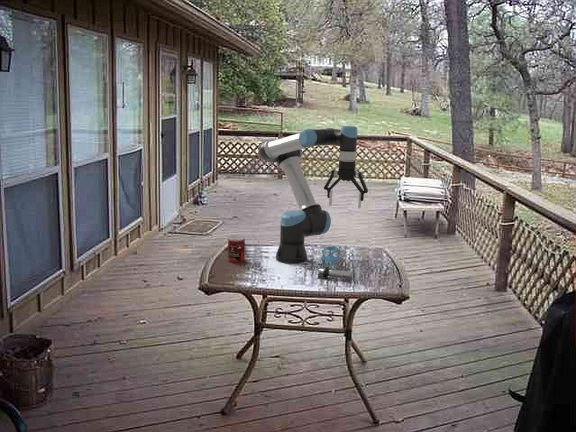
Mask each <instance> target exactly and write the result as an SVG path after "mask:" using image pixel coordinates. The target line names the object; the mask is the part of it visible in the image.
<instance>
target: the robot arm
mask: <svg viewBox="0 0 576 432" xmlns="http://www.w3.org/2000/svg"><path fill="white" fill-rule="evenodd" d="M357 142H358V128H357V126H355V125H342V126H340V129H337V128H333V127H332V128H330V127H329V128H319V129H318V128H317V129H315V128H313V129H312V128H308V129H302V130H301V131H300V132H297V133H295V134H292V135H288V136H284V137H280V138H275V139H274V138H269V139H265V140H263V141H261V142H260V144H259V146H258V155H259V157H260V158H261V159H262V160H263V161H264V162H266V163H267V162H268V163H277V164H278V167H279V168H280V169H281V170H283V171H284V174H285V176H286V179H287V181H288V184H289V186H290V188H291V191H292V193H293V196H294V198H295V201H296V203H297V206H298V209H295V210H288V211H285V212H283V213H282V214H281V216H280V222H279V223H280V235H279V246H278V247H277V251H276V254H275V259H276V261H278V262H280V263H283V264H284V263H285V264H303V263H305V262H307V261H308V253H307V251H306V246H305V238H306V237H313V236H314V237H315V236H321V235H323V234H326V233H328V232H329V230H330V228H331V225H332V218H331V216H330V213H329V212H328V211H327V210H324V209H323V208H322V206H321V205H320V204H319V203H316V200H315V198H314V195H313V193H312V190H311V188H310V185H309V184H308V181H307V179H306V176H305V174H304V171H303V168H302V167H301V163H300V162H301V157H302V155H303V154H302V150H303V149H306V148H307V149H308V148H312V147H321V146H337V147H339V155H338V158H339V161H338V170H335V169H332V170H331V172H330V176H329V178H328V179H327V181H326V183H325V185H324V186H323V190H326V191H327V195H326V196H327V199H328V206H330V207H331V206H332V205H333V190H332V189H333V188H334V187H335V186H336V185H337V184H338V183H339V182H340V181H343V182H345V181H346V182H352V184H353V185H354V186H355V188H356V189H357V191H358V192H359V194H358V203H357V204H358V206H357V207H358V209H361V207H362V202H363V201H364V199H365V198H364V197H365V194H367V193H369V189H368V187H367V185H366V181H365V179H364V177H363V173H362V172H363V171H356V164H357V163H356V160H357V145H358V143H357ZM336 175H338V177H337V178H336V180H335V181H334V182H333V183H332V181H333V179H334V177H335V176H336ZM356 176H357V178H358V180H359V182H360V184H361V185H360V184H359V183H358V181H357V180H356V178H355V177H356ZM331 183H332V184H331ZM330 184H331V185H330ZM361 186H362V187H361Z"/></svg>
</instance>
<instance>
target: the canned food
mask: <svg viewBox="0 0 576 432" xmlns="http://www.w3.org/2000/svg"><path fill="white" fill-rule="evenodd" d="M227 239H228V240H227V259H228V260H227V261H228V262H230V263H242V262H244V261H245V251H246V250H245V248H246V247H245V245H246V243H245V241H246V238H245V237H244V236H239V235H238V236H237V235H235V236H234V235H233V236H230V237H228V238H227Z"/></svg>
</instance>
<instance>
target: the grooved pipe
mask: <svg viewBox="0 0 576 432" xmlns="http://www.w3.org/2000/svg"><path fill="white" fill-rule="evenodd" d="M329 267H330V266H329ZM329 267H327V266H325V267H324V269H323V268H322V267H321V268H319V269H318V273H317V279H318V280H319V279H320V280H323V279H325V278H327V279H328V277H334V278H340V279H342V278H344V282H345V283H351V281H352V280H353V274H352V271H347V270H340V269H337V270H331V269H329Z"/></svg>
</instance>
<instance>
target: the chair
mask: <svg viewBox="0 0 576 432" xmlns="http://www.w3.org/2000/svg"><path fill="white" fill-rule="evenodd" d="M327 250H328V251H329V254H328V255H325V251H327ZM321 252H322V253H321V254H322V256H320V260H321V268H323V269H324V267H326V261H327V262H329V263H330V265H329V269H331V270H338V269H337V268H333V266H334V264H336V262H338V261H341V257H340V254H341V249H339V247H337V246H335V245H334V246H333V245H332V246H326V247H324V248H323V249H322V250H321ZM335 253H337V254H336V256H335V255H334V254H335Z"/></svg>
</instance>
